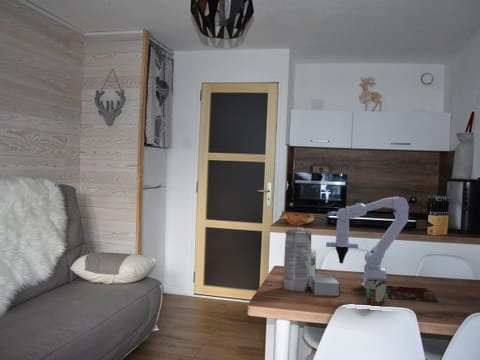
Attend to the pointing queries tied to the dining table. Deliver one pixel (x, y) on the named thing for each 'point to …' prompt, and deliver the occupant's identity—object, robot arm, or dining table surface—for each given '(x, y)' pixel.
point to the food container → (375, 291)
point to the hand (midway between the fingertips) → (341, 262)
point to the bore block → (325, 285)
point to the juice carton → (297, 260)
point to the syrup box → (313, 263)
